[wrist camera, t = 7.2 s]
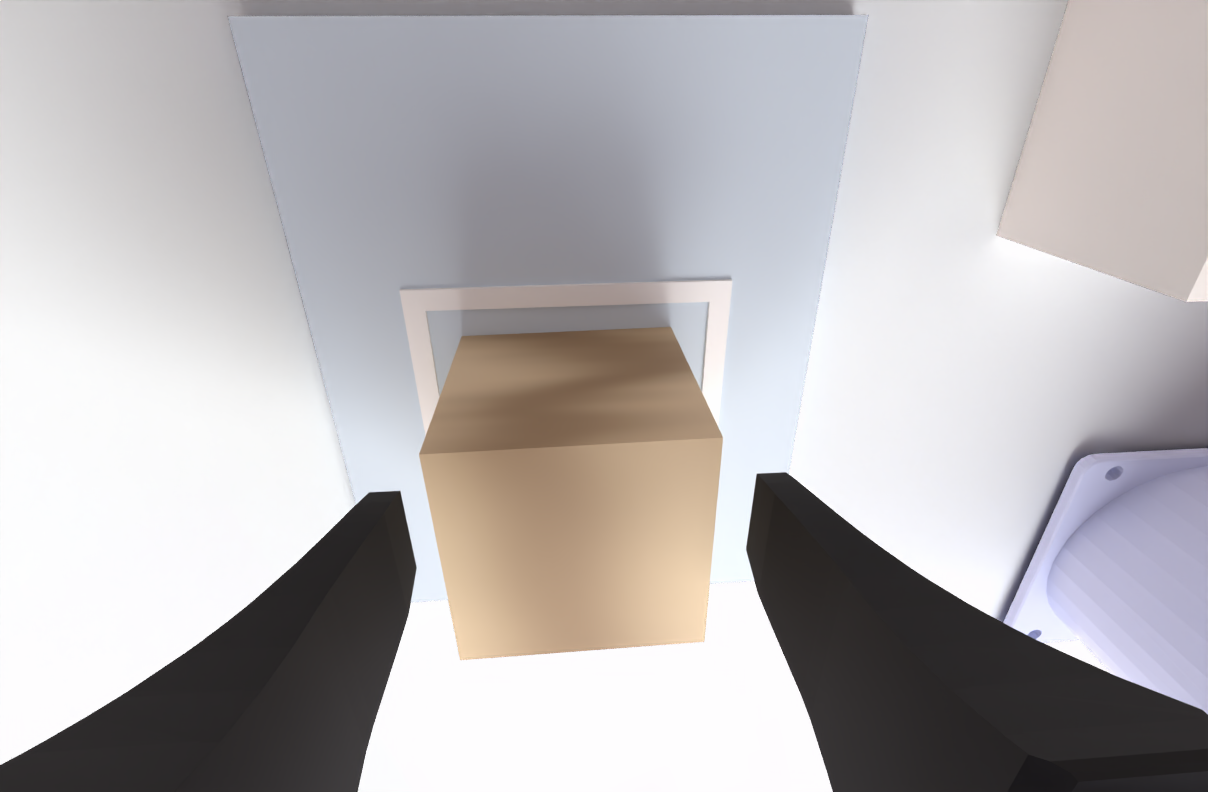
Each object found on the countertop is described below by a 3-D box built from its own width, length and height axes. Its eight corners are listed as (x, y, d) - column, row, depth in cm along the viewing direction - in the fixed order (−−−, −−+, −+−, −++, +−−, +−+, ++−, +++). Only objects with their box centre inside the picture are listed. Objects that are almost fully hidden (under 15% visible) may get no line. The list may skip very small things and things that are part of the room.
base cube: (671, 326, 14) (723, 437, 10) (664, 492, 17) (704, 642, 12) (462, 336, 14) (419, 454, 9) (485, 503, 16) (460, 660, 12)
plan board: (854, 17, 12) (871, 14, 11) (764, 566, 19) (771, 582, 18) (242, 18, 11) (224, 15, 11) (387, 589, 18) (381, 607, 18)
